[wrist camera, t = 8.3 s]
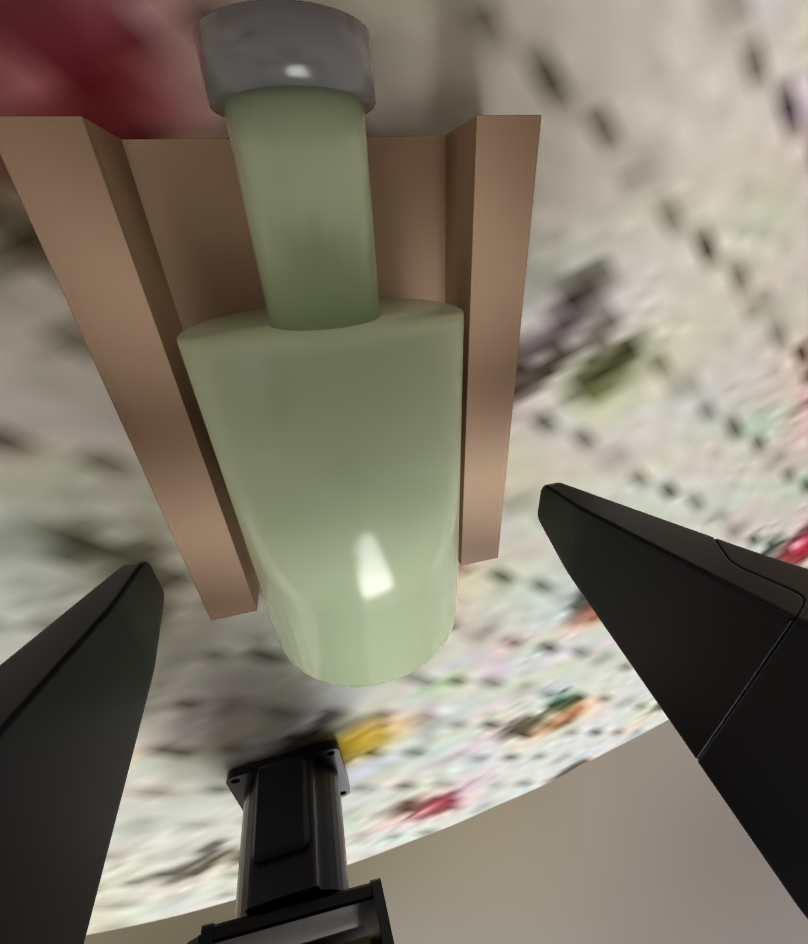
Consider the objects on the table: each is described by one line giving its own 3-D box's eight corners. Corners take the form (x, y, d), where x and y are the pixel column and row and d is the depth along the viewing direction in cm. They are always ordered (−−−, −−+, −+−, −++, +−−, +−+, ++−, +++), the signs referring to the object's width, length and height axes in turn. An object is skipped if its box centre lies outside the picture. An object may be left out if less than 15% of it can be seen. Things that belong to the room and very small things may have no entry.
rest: (468, 512, 18) (497, 557, 15) (223, 560, 16) (211, 620, 14) (484, 142, 11) (541, 114, 9) (66, 149, 9) (-17, 116, 7)
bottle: (426, 528, 16) (487, 655, 11) (278, 558, 15) (272, 713, 10) (413, 97, 10) (551, -59, 5) (143, 97, 8) (-68, -107, 3)
